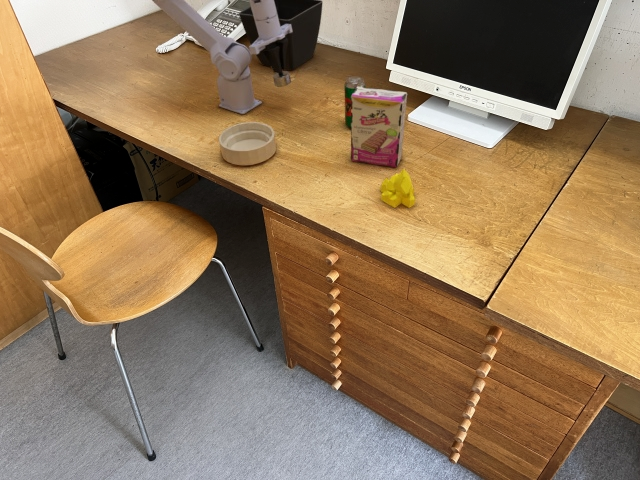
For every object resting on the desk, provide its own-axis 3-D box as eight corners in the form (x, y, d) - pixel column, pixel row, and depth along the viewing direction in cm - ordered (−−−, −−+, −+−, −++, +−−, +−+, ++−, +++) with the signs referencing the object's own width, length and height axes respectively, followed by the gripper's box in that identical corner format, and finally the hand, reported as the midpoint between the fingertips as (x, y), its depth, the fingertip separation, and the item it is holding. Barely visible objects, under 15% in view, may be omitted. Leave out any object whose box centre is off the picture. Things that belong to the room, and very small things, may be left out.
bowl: (211, 157, 115) (207, 140, 112) (247, 132, 123) (244, 117, 119) (251, 173, 109) (248, 156, 106) (287, 147, 116) (285, 130, 113)
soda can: (363, 130, 120) (363, 85, 112) (343, 129, 121) (342, 84, 113) (366, 120, 124) (366, 76, 116) (346, 119, 125) (346, 75, 117)
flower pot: (245, 67, 153) (236, 11, 142) (279, 46, 165) (273, -7, 153) (294, 77, 145) (289, 20, 134) (326, 55, 157) (324, 0, 146)
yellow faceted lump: (392, 183, 103) (394, 153, 98) (421, 200, 99) (424, 168, 93) (373, 195, 101) (374, 164, 95) (402, 212, 96) (404, 181, 91)
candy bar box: (350, 162, 110) (349, 95, 99) (356, 150, 114) (356, 85, 102) (397, 169, 107) (402, 101, 96) (402, 157, 111) (407, 90, 99)
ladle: (271, 86, 126) (260, 43, 119) (282, 79, 129) (271, 36, 121) (284, 87, 124) (273, 44, 117) (294, 80, 126) (284, 37, 119)
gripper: (258, 28, 109) (274, 84, 118) (296, 5, 117) (308, 60, 126) (237, 27, 113) (253, 82, 122) (274, 6, 121) (287, 58, 130)
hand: (279, 70), depth 124 cm, fingers closed on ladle
